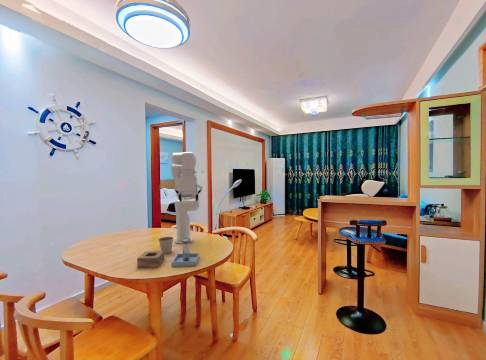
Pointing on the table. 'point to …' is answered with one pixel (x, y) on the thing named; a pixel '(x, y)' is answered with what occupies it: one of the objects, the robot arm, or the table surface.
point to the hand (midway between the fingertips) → (188, 201)
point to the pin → (186, 249)
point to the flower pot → (166, 244)
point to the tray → (179, 261)
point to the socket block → (150, 259)
